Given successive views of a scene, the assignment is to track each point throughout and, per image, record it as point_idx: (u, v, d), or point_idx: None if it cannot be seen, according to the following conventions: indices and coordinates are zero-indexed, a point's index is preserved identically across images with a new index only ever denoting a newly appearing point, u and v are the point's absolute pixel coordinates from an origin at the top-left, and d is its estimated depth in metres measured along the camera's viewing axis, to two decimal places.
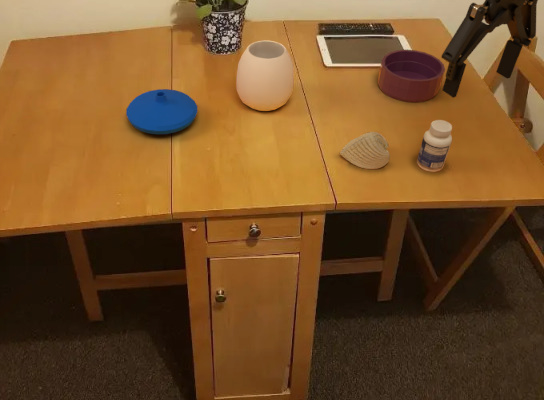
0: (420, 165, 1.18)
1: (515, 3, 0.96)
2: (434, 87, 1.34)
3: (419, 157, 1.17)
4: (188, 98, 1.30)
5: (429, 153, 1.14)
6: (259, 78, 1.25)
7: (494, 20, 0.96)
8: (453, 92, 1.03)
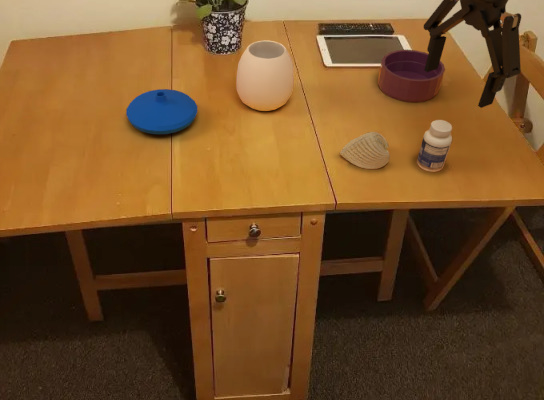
0: (420, 165, 1.18)
1: None
2: (434, 87, 1.34)
3: (419, 157, 1.17)
4: (188, 98, 1.30)
5: (429, 153, 1.14)
6: (259, 78, 1.25)
7: (498, 21, 0.96)
8: (492, 99, 1.02)
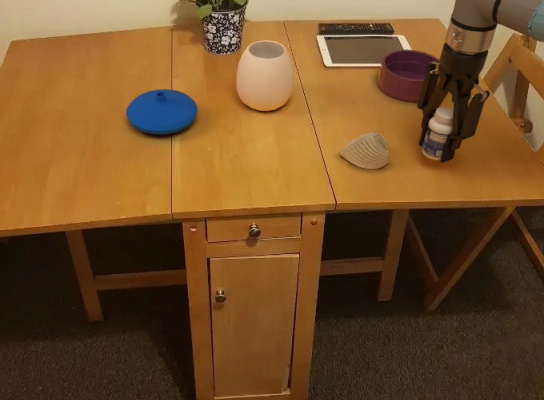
0: (425, 153, 1.15)
1: None
2: None
3: (424, 145, 1.15)
4: (188, 98, 1.30)
5: (434, 141, 1.12)
6: (259, 78, 1.25)
7: (470, 90, 1.05)
8: (453, 155, 1.14)
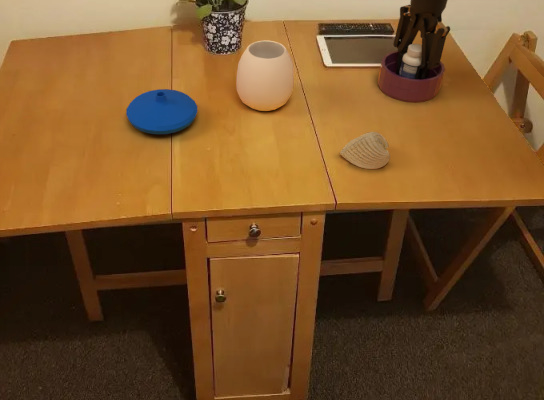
0: None
1: None
2: (434, 87, 1.34)
3: None
4: (188, 98, 1.30)
5: (407, 72, 1.36)
6: (259, 78, 1.25)
7: (435, 27, 1.29)
8: None
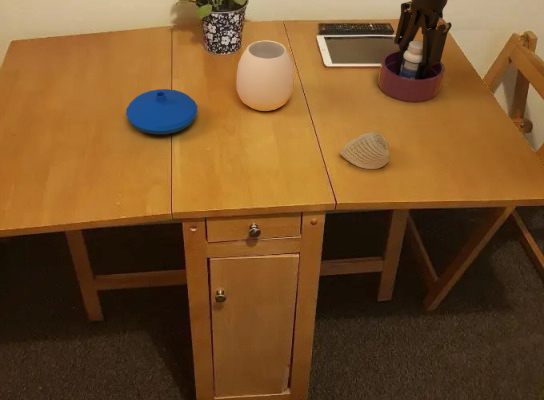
0: None
1: None
2: (434, 87, 1.34)
3: (400, 74, 1.38)
4: (188, 98, 1.30)
5: (408, 69, 1.35)
6: (259, 78, 1.25)
7: (436, 24, 1.28)
8: None
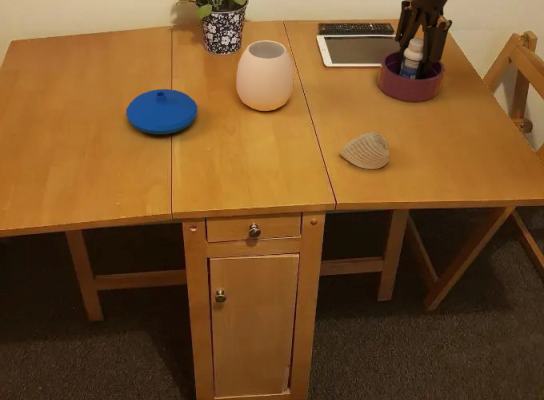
0: None
1: None
2: (434, 87, 1.34)
3: (400, 72, 1.38)
4: (188, 98, 1.30)
5: (408, 67, 1.35)
6: (259, 78, 1.25)
7: (436, 21, 1.28)
8: None
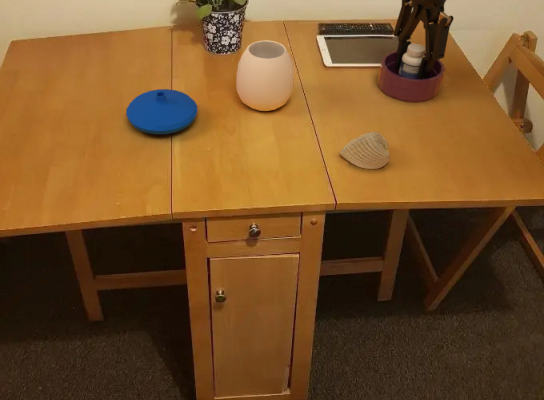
0: None
1: None
2: (434, 87, 1.34)
3: None
4: (188, 98, 1.30)
5: (406, 72, 1.36)
6: (259, 78, 1.25)
7: (438, 18, 1.27)
8: (427, 77, 1.36)
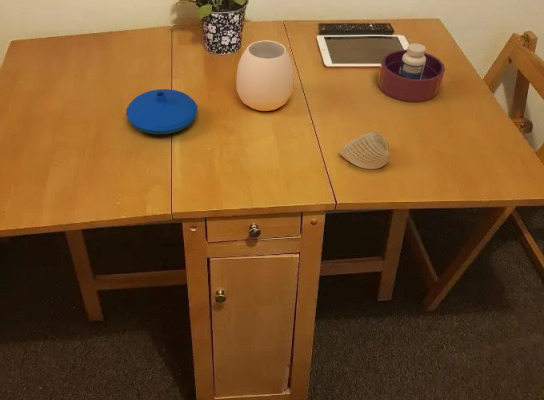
0: None
1: None
2: (434, 87, 1.34)
3: None
4: (188, 98, 1.30)
5: (406, 72, 1.36)
6: (259, 78, 1.25)
7: None
8: None
